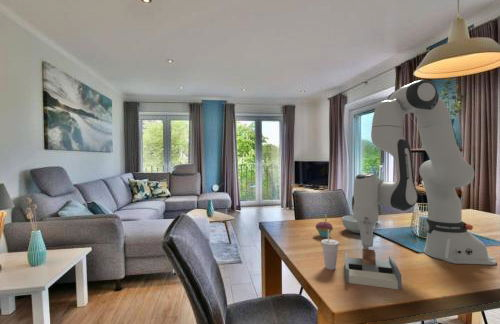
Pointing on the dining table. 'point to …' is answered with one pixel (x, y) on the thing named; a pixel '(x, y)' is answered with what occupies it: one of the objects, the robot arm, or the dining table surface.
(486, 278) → the dining table surface
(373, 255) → the terracotta block
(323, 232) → the cupcake
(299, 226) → the dining table surface
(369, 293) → the dining table surface
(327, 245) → the smoothie
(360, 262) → the board
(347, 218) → the cereal bowl
